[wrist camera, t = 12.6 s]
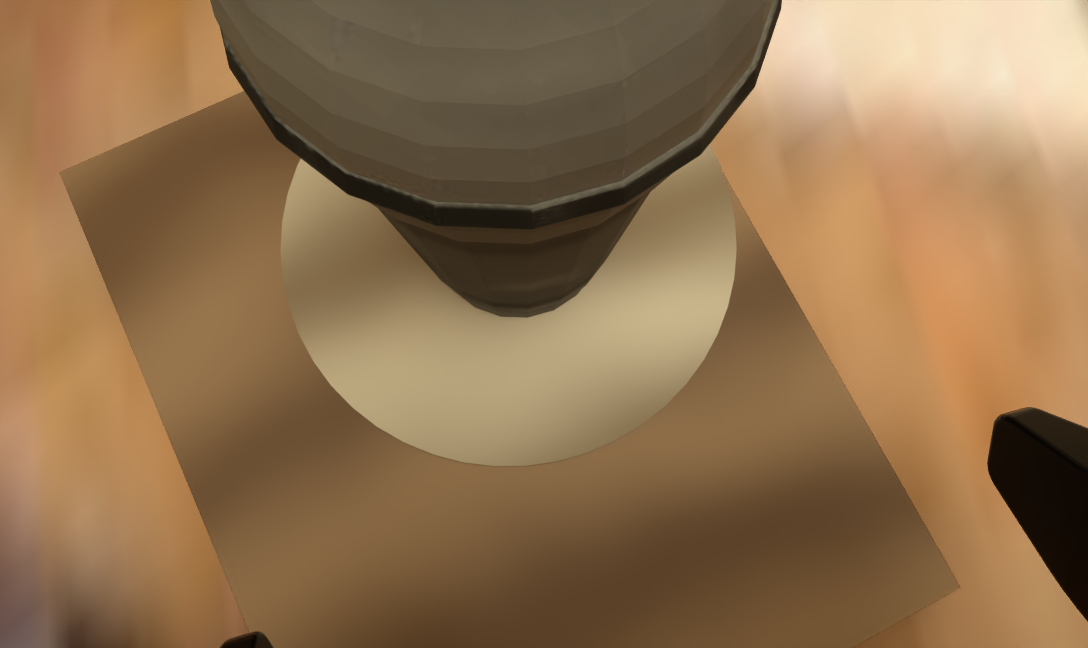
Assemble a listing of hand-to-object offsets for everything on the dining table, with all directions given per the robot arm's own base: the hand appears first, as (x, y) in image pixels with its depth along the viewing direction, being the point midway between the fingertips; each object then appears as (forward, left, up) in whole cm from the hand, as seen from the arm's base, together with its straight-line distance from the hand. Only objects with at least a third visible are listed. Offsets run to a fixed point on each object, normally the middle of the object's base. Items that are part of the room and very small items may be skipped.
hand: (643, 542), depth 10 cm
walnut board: (+4, 0, -12) cm, 13 cm away
